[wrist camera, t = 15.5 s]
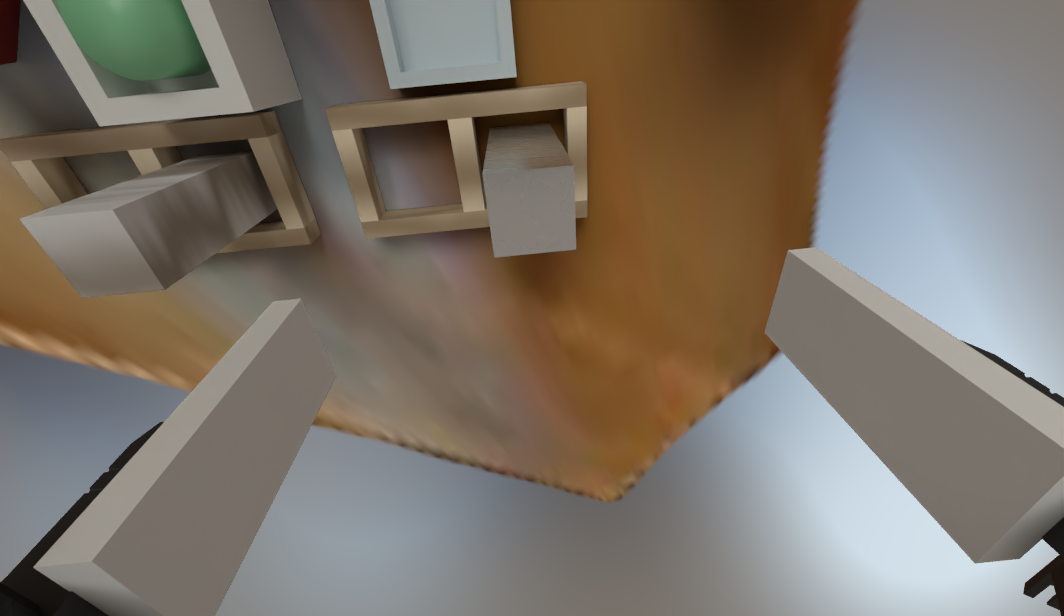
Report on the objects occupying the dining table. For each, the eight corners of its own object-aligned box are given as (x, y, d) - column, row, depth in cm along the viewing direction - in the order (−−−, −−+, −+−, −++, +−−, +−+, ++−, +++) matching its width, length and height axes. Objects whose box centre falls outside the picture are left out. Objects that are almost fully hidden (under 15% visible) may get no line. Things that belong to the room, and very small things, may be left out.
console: (95, -53, 22) (-28, -84, 17) (244, -68, 22) (167, -102, 17) (177, 111, 26) (99, 126, 21) (302, 99, 26) (254, 111, 21)
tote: (361, -73, 22) (349, -83, 20) (501, -86, 22) (501, -97, 20) (397, 86, 26) (390, 89, 24) (515, 75, 26) (516, 77, 24)
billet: (489, 127, 28) (482, 174, 18) (548, 121, 28) (574, 165, 18) (497, 189, 30) (495, 262, 20) (551, 184, 30) (576, 254, 20)
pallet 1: (27, 134, 26) (-269, 188, 16) (274, 110, 26) (132, 149, 16) (110, 254, 31) (-80, 354, 21) (321, 233, 31) (233, 323, 21)
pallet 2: (335, 105, 27) (324, 108, 25) (581, 81, 27) (586, 83, 25) (373, 228, 31) (366, 238, 29) (582, 208, 31) (587, 217, 29)
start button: (103, -22, 20) (32, -34, 17) (191, -30, 20) (136, -44, 17) (154, 79, 23) (100, 84, 20) (233, 72, 23) (192, 76, 20)
